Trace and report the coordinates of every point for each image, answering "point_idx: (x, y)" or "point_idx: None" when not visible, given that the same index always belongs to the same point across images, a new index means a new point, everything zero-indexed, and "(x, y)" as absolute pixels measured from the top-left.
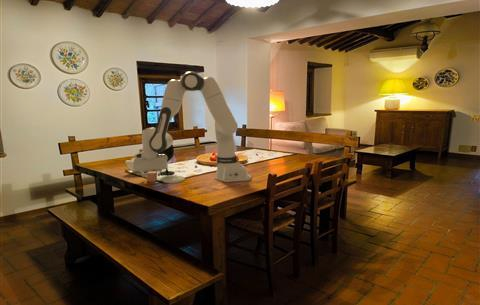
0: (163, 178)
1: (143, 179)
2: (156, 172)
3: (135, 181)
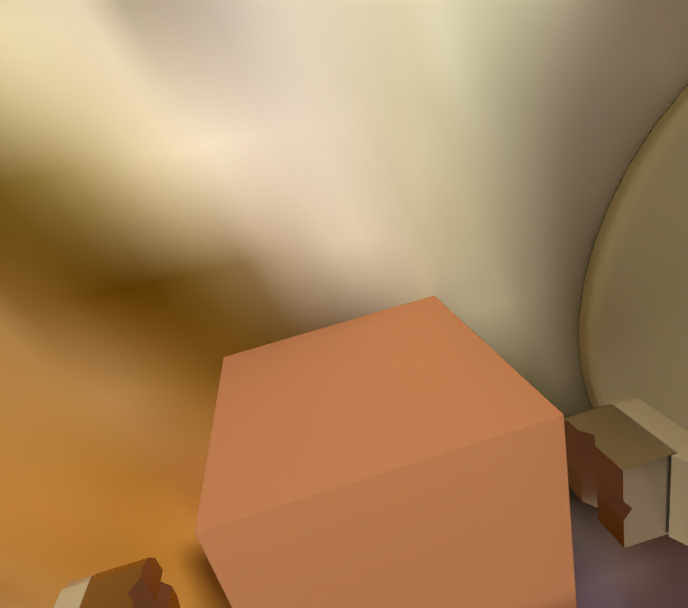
0: (632, 326)
1: (77, 413)
2: (550, 442)
3: (7, 595)
